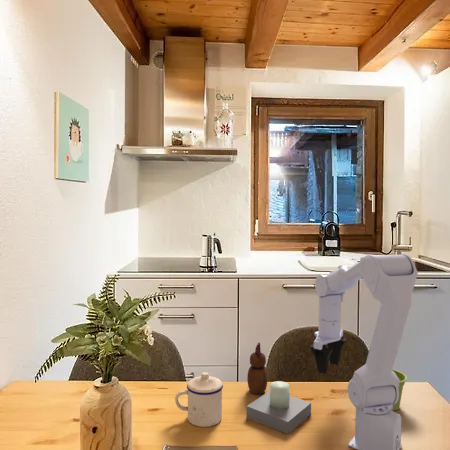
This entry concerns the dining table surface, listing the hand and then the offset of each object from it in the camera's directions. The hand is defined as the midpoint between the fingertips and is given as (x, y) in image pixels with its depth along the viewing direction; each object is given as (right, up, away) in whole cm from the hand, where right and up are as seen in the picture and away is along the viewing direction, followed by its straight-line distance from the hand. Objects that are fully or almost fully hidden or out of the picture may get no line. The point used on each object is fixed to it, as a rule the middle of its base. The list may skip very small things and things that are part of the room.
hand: (328, 368), depth 112 cm
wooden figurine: (-19, -10, +8) cm, 22 cm away
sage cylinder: (-14, -7, -6) cm, 17 cm away
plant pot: (+16, -10, 0) cm, 19 cm away
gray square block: (-14, -10, -6) cm, 19 cm away
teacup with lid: (-35, -10, -8) cm, 37 cm away
